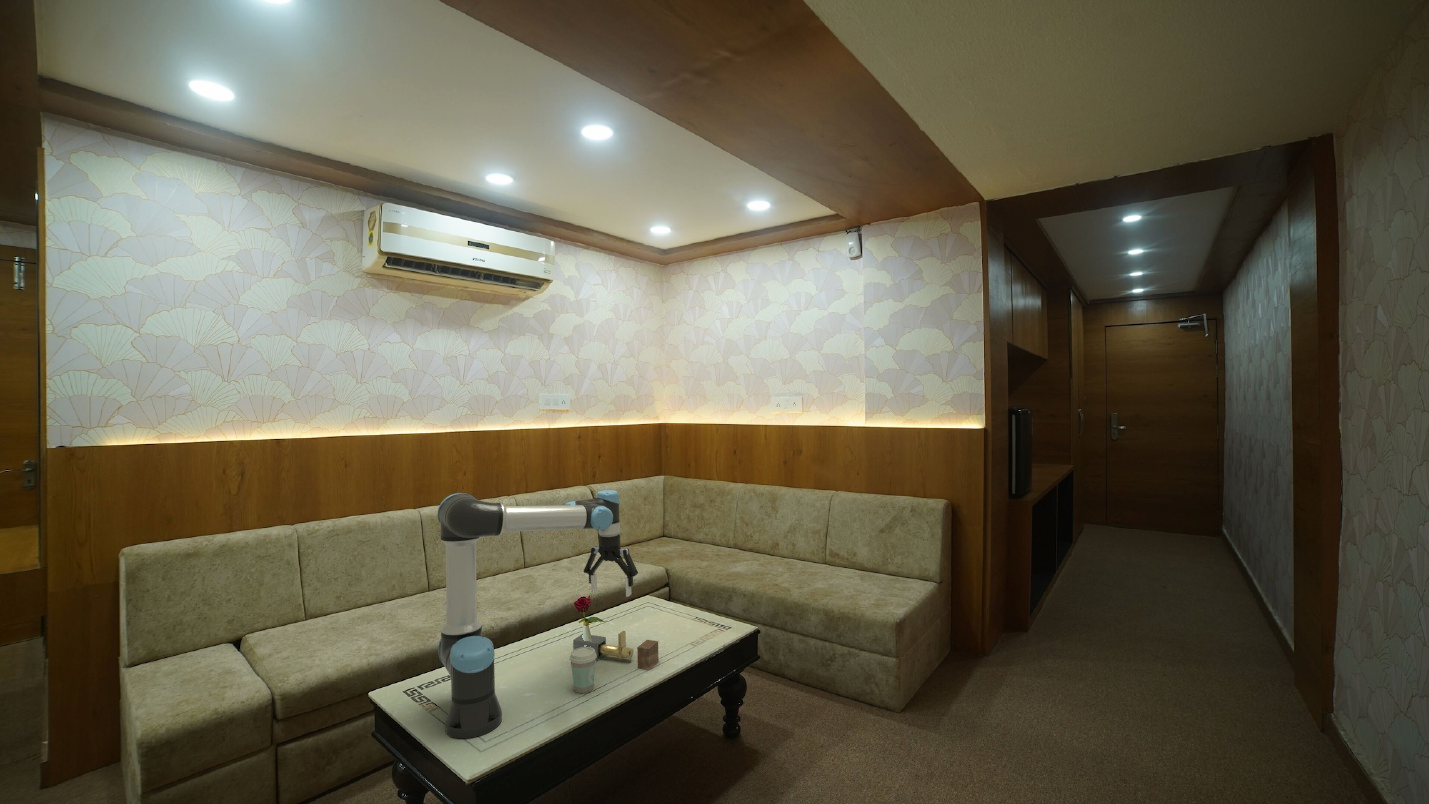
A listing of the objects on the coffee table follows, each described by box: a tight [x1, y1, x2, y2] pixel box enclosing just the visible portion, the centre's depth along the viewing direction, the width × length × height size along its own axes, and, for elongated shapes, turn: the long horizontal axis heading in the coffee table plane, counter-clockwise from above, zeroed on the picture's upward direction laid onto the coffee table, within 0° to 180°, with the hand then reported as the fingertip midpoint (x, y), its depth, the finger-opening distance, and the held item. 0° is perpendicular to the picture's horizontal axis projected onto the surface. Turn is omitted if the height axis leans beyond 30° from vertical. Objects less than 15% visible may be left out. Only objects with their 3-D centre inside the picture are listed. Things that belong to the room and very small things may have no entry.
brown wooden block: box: [636, 639, 659, 671], centre depth 209 cm, size 4×7×7 cm, turn 159°
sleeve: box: [572, 633, 607, 662], centre depth 217 cm, size 10×6×6 cm, turn 69°
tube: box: [598, 630, 634, 660], centre depth 215 cm, size 23×3×9 cm, turn 69°
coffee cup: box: [569, 647, 597, 694], centre depth 192 cm, size 9×8×12 cm
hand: (611, 594), depth 212 cm, fingers open, 13 cm apart
